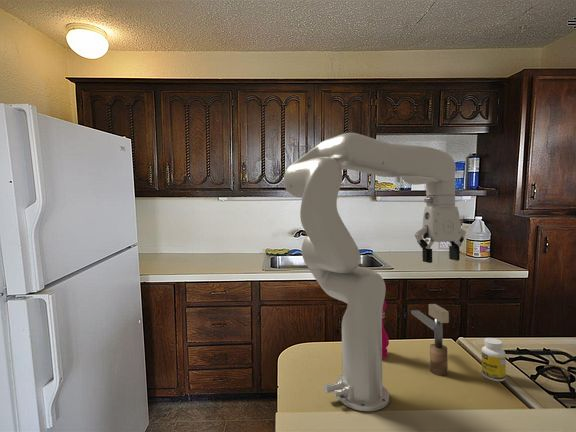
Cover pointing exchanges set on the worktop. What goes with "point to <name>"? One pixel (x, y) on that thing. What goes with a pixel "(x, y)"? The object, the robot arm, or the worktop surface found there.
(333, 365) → the worktop surface
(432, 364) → the post
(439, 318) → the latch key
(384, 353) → the pepper mill
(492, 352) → the supplement bottle
